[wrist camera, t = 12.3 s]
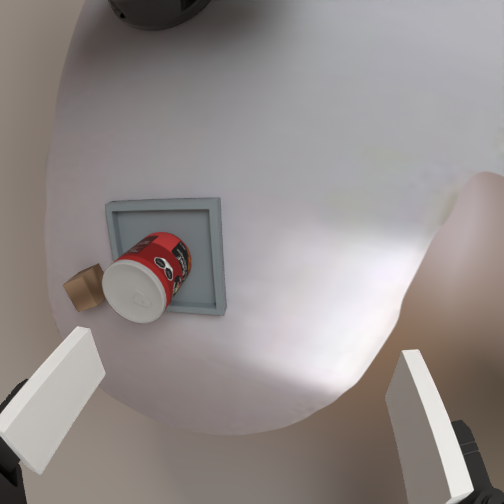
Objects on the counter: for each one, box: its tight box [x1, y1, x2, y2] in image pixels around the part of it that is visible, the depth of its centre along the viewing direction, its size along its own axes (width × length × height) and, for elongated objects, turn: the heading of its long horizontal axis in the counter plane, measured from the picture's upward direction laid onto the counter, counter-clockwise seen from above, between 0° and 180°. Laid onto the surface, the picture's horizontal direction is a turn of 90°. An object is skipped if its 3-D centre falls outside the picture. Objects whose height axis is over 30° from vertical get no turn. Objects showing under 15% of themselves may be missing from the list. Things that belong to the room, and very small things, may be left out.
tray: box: [105, 198, 227, 315], centre depth 41 cm, size 16×16×2 cm
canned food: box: [102, 232, 191, 324], centre depth 37 cm, size 8×8×11 cm
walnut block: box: [63, 263, 106, 312], centre depth 44 cm, size 5×5×5 cm
